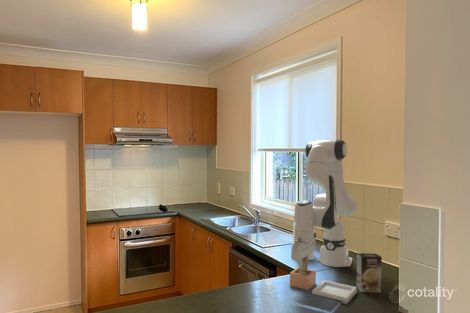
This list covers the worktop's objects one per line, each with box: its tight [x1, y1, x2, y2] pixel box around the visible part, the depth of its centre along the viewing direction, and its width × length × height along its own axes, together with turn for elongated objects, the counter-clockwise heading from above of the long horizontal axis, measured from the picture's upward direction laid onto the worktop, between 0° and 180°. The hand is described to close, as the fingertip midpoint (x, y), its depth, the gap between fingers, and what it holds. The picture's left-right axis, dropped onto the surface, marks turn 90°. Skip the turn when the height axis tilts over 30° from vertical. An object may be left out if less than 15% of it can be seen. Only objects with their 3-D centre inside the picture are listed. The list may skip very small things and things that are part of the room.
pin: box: [298, 257, 309, 275], centre depth 168 cm, size 4×4×12 cm
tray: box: [311, 279, 358, 305], centre depth 160 cm, size 15×15×2 cm
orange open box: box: [289, 267, 317, 291], centre depth 168 cm, size 9×9×7 cm
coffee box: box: [355, 252, 383, 293], centre depth 166 cm, size 9×6×16 cm
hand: (303, 265), depth 168 cm, fingers closed on pin, 4 cm apart
